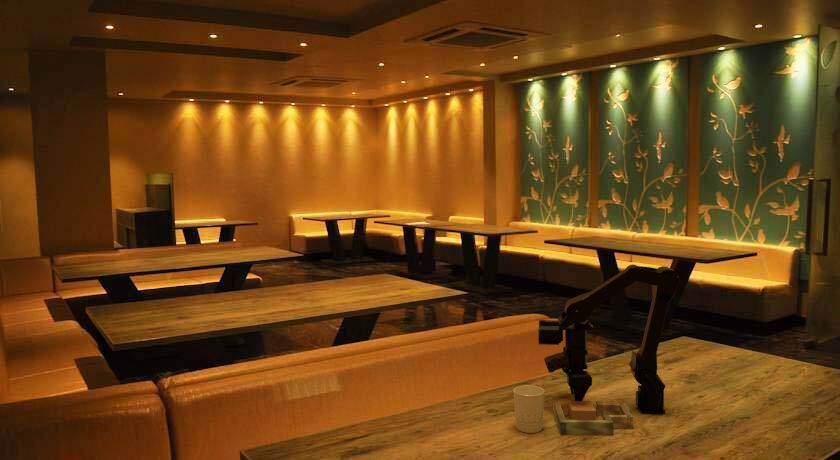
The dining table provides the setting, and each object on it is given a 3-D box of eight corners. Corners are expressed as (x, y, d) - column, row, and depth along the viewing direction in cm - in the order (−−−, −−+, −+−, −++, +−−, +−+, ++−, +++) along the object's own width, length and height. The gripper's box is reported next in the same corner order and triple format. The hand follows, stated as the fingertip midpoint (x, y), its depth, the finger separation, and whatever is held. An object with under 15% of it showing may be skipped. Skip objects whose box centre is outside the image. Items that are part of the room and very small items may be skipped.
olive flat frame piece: (623, 411, 181) (623, 400, 181) (636, 435, 165) (637, 422, 165) (553, 411, 183) (553, 399, 182) (560, 434, 167) (560, 421, 167)
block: (590, 415, 180) (591, 401, 179) (595, 425, 173) (595, 410, 172) (568, 415, 180) (568, 400, 180) (571, 425, 173) (571, 410, 173)
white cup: (544, 435, 167) (544, 396, 166) (512, 433, 168) (512, 394, 167) (544, 423, 174) (544, 386, 173) (514, 421, 176) (514, 384, 175)
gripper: (543, 336, 193) (542, 388, 195) (549, 354, 175) (549, 412, 177) (582, 336, 192) (581, 388, 194) (592, 354, 174) (592, 412, 176)
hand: (575, 399), depth 185 cm, fingers open, 9 cm apart
